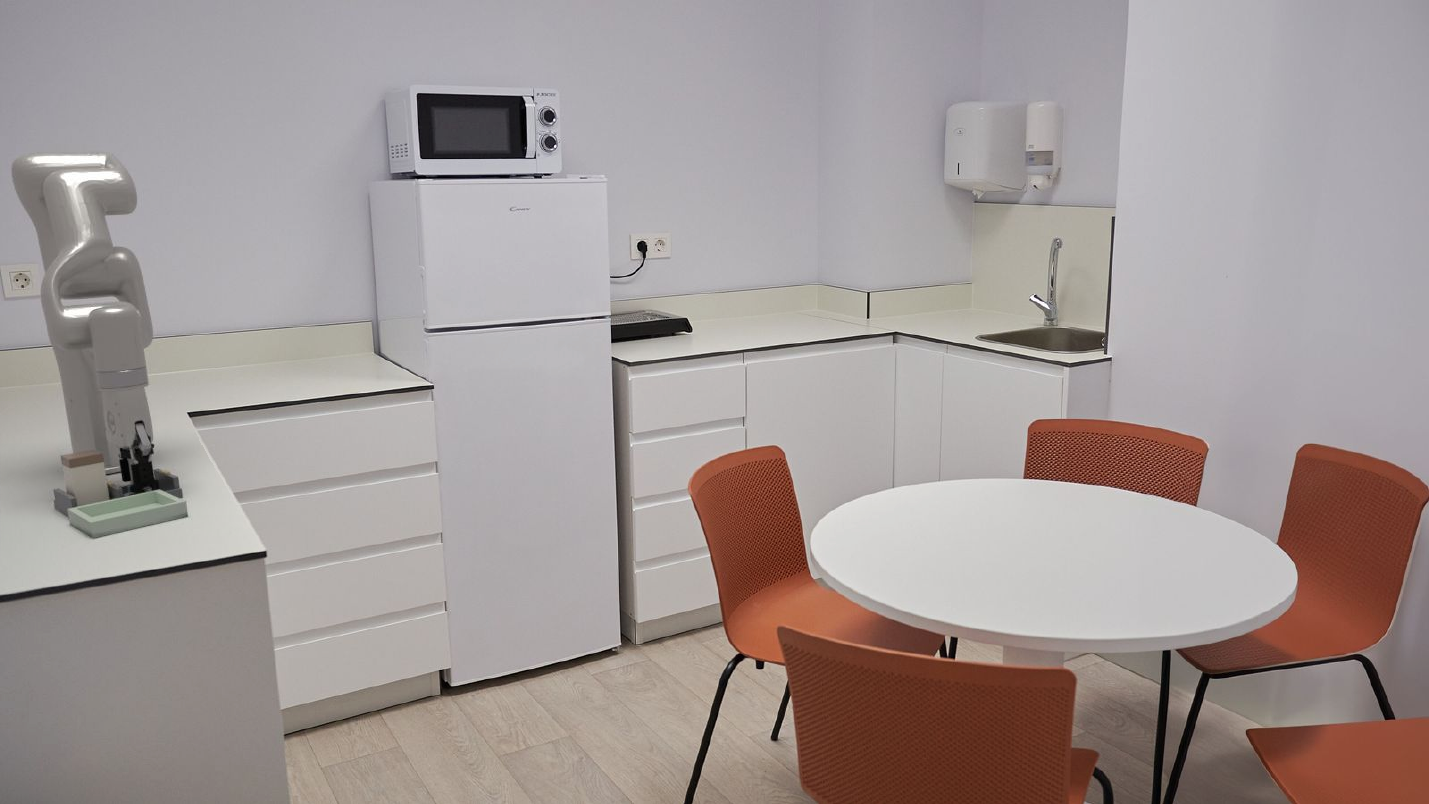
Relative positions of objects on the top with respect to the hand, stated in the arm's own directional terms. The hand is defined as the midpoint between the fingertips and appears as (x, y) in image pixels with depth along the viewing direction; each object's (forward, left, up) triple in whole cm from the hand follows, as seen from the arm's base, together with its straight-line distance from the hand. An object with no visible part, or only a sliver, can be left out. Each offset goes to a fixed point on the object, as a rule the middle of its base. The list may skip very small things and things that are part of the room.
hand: (138, 481), depth 189 cm
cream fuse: (0, -8, -3) cm, 9 cm away
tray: (+13, -6, -3) cm, 15 cm away
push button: (0, 0, -3) cm, 3 cm away
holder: (0, -4, -3) cm, 5 cm away
